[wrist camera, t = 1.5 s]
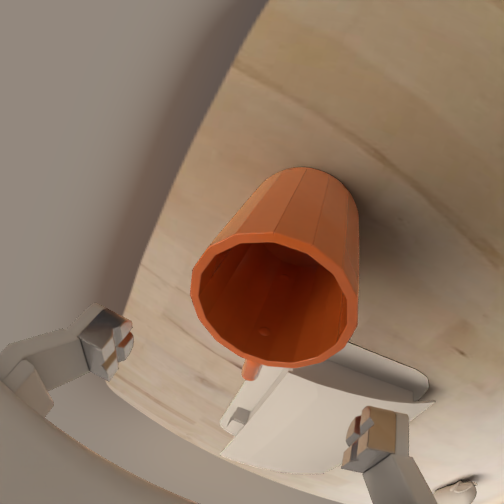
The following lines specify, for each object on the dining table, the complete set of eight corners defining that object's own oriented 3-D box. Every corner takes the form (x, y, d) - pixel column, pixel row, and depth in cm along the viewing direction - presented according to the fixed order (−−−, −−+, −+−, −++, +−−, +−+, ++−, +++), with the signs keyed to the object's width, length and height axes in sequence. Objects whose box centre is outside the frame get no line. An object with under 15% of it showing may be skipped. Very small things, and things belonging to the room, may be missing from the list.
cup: (263, 153, 18) (199, 208, 11) (374, 188, 17) (387, 270, 10) (233, 289, 23) (183, 378, 16) (319, 319, 22) (297, 419, 15)
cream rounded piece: (462, 492, 27) (406, 502, 35) (472, 513, 24) (416, 521, 33) (478, 467, 30) (425, 481, 38) (488, 487, 28) (435, 499, 36)
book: (215, 427, 36) (204, 452, 33) (284, 314, 23) (271, 352, 20) (321, 465, 35) (315, 490, 32) (442, 379, 22) (446, 416, 19)
